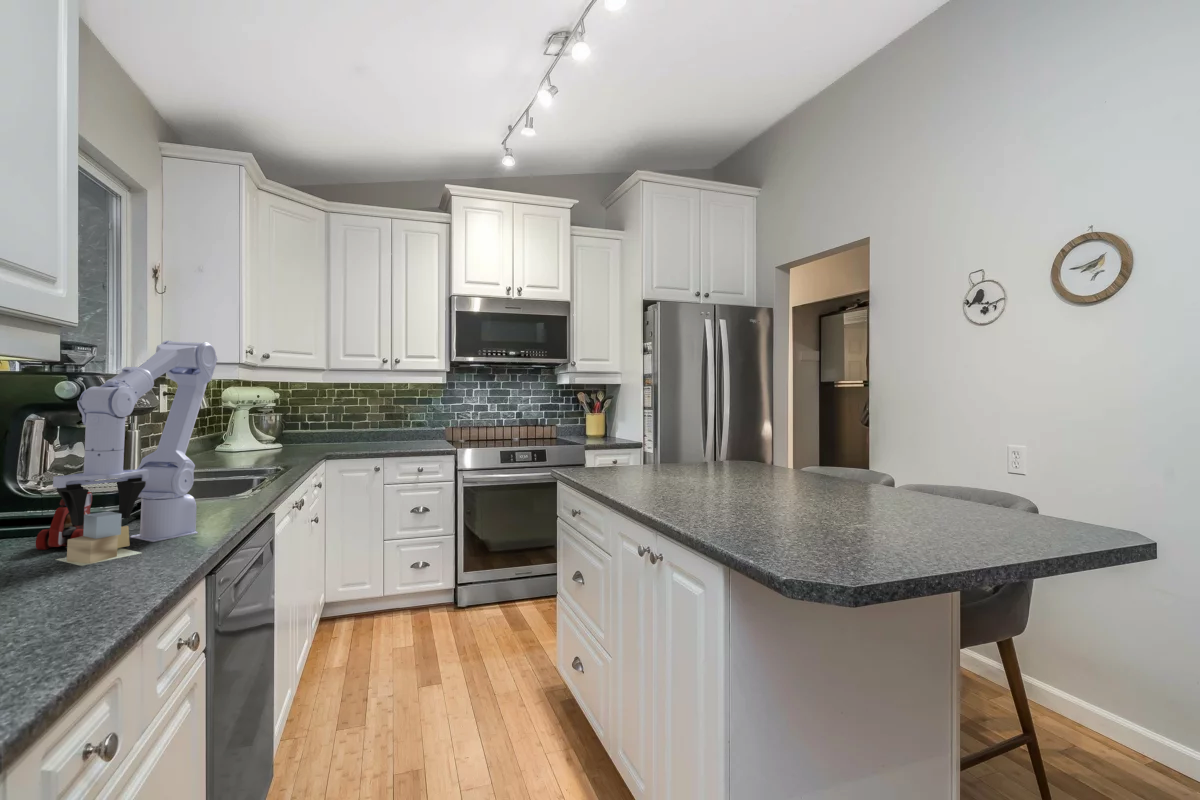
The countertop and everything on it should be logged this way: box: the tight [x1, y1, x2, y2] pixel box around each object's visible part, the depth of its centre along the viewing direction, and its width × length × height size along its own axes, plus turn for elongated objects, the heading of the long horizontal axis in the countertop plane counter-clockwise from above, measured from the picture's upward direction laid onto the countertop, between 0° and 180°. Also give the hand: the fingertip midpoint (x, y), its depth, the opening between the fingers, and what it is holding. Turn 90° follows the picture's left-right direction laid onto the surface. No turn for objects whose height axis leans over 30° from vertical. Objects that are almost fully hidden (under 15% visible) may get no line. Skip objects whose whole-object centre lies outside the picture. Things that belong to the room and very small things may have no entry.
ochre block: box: [117, 525, 131, 548], centre depth 115 cm, size 4×4×4 cm
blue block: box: [83, 511, 122, 539], centre depth 110 cm, size 4×4×4 cm
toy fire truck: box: [35, 491, 93, 551], centre depth 117 cm, size 7×12×10 cm, turn 18°
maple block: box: [66, 535, 118, 565], centre depth 108 cm, size 5×5×4 cm
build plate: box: [55, 547, 142, 567], centre depth 110 cm, size 10×8×1 cm
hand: (101, 521), depth 110 cm, fingers open, 7 cm apart
